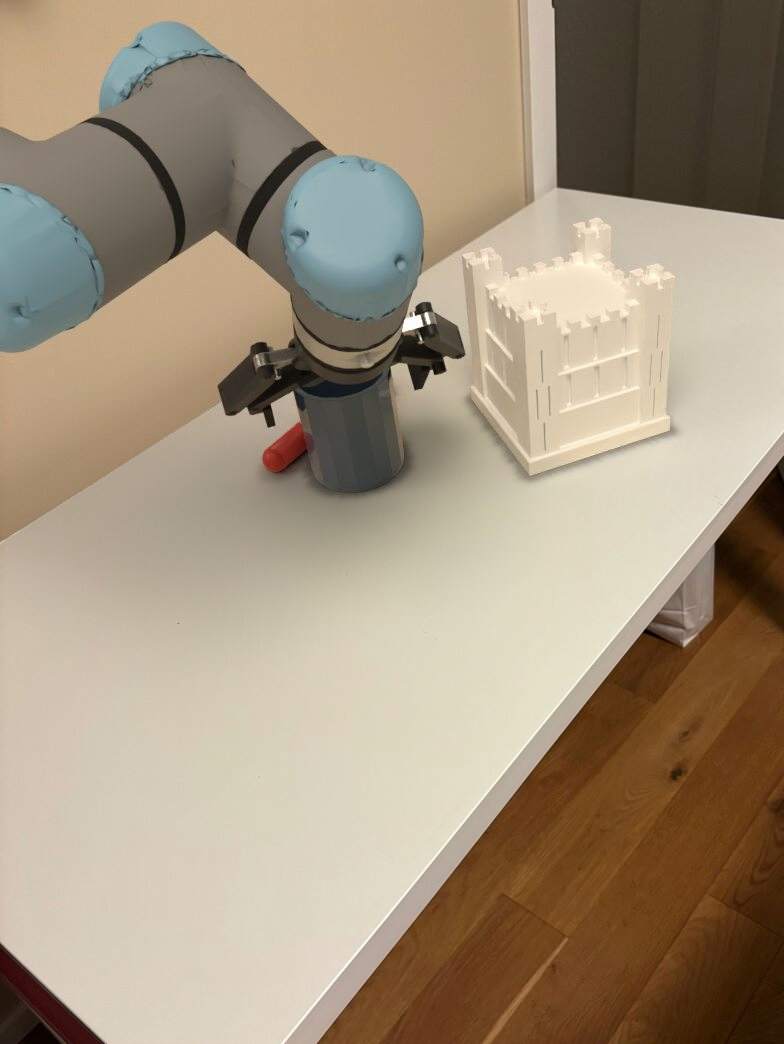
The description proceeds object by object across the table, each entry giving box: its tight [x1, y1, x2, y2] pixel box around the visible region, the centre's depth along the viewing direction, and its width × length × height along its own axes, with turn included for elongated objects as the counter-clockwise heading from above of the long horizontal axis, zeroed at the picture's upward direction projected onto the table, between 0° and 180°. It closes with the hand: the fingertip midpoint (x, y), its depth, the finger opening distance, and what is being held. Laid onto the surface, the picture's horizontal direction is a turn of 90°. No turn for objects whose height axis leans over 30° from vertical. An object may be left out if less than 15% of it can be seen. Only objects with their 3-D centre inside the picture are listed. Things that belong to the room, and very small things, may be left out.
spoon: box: [261, 420, 307, 473], centre depth 93 cm, size 17×5×2 cm, turn 147°
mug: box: [292, 366, 405, 494], centre depth 86 cm, size 13×9×10 cm, turn 16°
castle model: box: [461, 216, 676, 477], centre depth 86 cm, size 14×14×15 cm
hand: (341, 393), depth 85 cm, fingers open, 13 cm apart
